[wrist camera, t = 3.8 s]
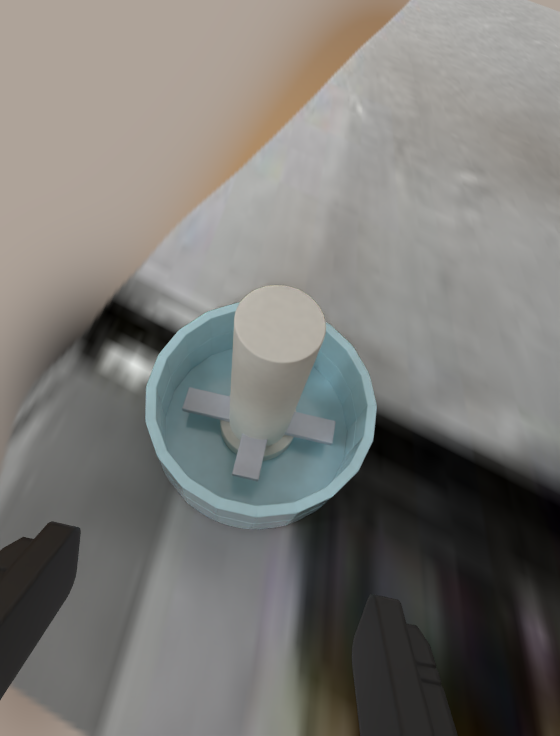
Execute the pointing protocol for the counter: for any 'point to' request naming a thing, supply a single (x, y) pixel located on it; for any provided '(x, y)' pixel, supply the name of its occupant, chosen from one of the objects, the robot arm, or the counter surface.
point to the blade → (267, 378)
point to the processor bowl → (216, 461)
